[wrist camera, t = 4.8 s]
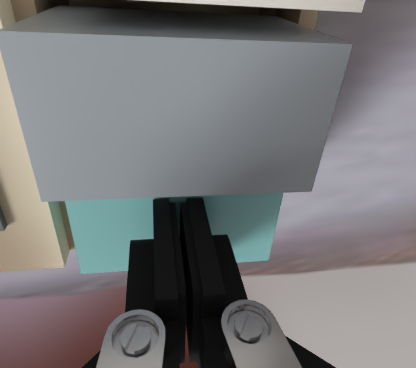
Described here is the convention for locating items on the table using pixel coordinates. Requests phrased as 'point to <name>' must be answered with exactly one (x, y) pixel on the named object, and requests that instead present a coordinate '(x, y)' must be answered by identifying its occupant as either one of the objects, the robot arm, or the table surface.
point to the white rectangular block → (285, 4)
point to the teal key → (143, 226)
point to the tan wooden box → (19, 158)
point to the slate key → (171, 101)
